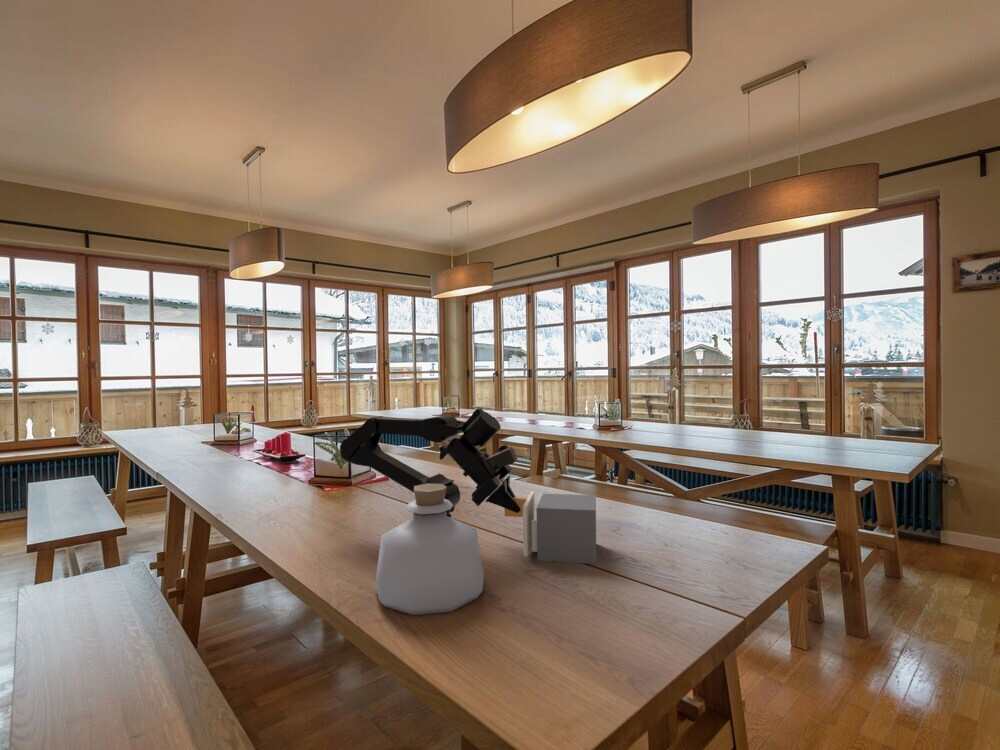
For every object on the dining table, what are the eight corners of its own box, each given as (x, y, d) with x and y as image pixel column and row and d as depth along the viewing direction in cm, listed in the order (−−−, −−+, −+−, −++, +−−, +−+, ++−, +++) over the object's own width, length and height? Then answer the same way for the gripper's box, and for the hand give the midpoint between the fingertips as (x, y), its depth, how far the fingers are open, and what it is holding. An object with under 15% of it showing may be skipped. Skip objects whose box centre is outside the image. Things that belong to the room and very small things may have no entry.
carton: (537, 560, 104) (536, 508, 104) (543, 540, 116) (543, 493, 115) (596, 564, 102) (595, 510, 101) (596, 543, 113) (595, 495, 113)
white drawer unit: (500, 554, 105) (499, 505, 105) (510, 534, 118) (509, 490, 117) (579, 559, 102) (578, 508, 102) (581, 538, 114) (580, 493, 114)
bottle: (506, 581, 94) (504, 481, 94) (443, 628, 77) (441, 507, 77) (423, 561, 104) (422, 471, 104) (351, 600, 88) (349, 492, 87)
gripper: (486, 440, 102) (540, 496, 100) (503, 429, 120) (549, 476, 119) (449, 478, 104) (502, 533, 102) (471, 461, 122) (516, 508, 120)
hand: (519, 510), depth 111 cm, fingers closed on white drawer unit
